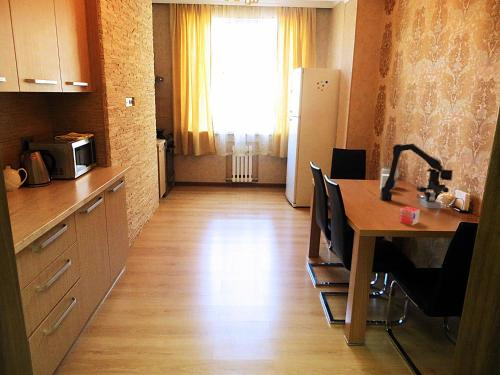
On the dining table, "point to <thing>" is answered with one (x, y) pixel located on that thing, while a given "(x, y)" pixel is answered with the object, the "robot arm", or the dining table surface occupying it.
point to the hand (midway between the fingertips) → (430, 201)
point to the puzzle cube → (409, 215)
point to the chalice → (387, 171)
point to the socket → (430, 204)
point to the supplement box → (383, 180)
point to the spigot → (432, 197)
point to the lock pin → (419, 195)
